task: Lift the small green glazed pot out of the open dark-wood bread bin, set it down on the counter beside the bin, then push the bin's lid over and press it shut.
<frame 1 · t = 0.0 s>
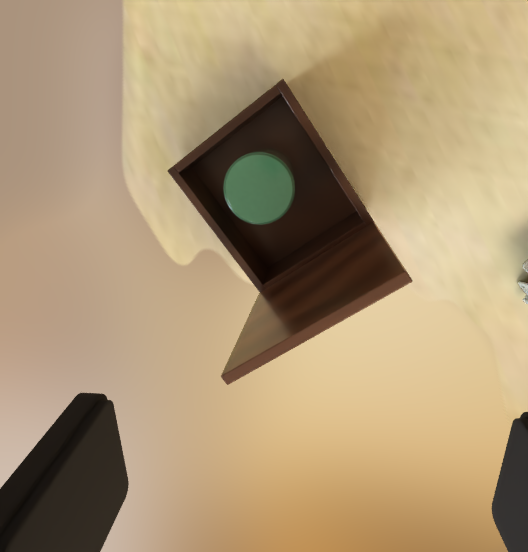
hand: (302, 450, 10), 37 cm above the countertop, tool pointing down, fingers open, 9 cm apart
bin lid: (313, 289, 33), point 14 cm above the countertop, hinge at 85.0°
bread bin: (275, 187, 44), on the countertop
pot: (266, 177, 43), point 1 cm above the countertop, touching bread bin
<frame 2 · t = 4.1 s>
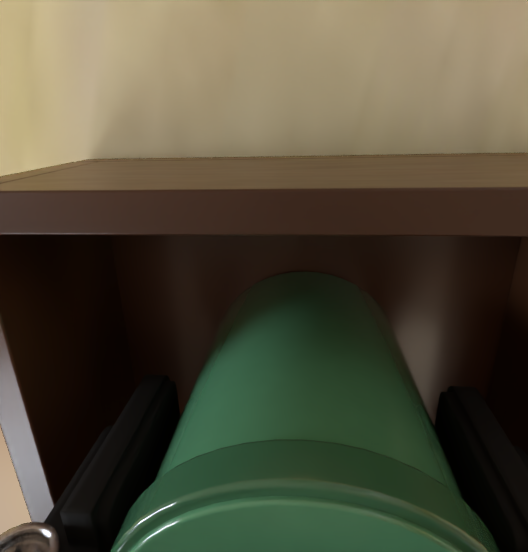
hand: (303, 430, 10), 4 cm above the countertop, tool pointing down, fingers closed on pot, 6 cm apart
bread bin: (303, 378, 15), on the countertop
pot: (304, 355, 13), point 1 cm above the countertop, touching bread bin, gripper
when the fingers open (3 cm above the countertop, at t = 11.6 s): pot stays where it is, on the countertop.
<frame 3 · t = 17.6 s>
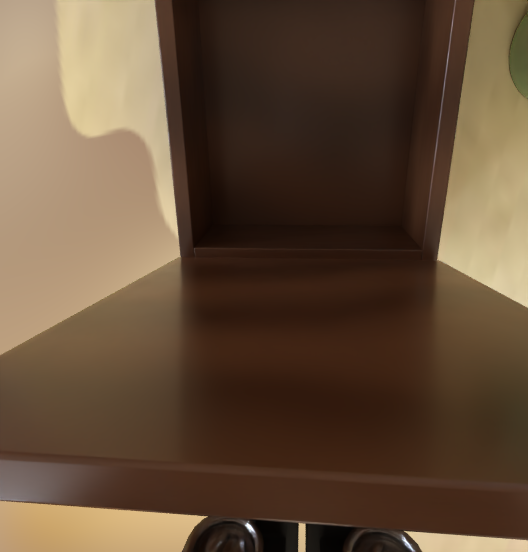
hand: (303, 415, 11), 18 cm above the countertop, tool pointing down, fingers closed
bin lid: (305, 312, 13), point 14 cm above the countertop, hinge at 80.6°, touching gripper
bread bin: (307, 107, 24), on the countertop
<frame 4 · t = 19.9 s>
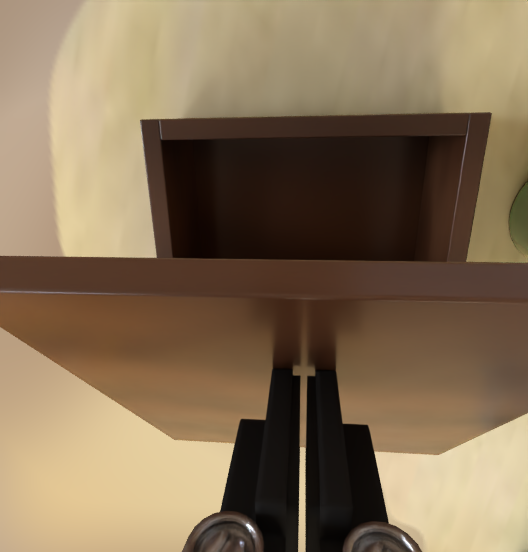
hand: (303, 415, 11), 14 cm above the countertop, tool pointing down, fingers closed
bin lid: (304, 398, 14), point 11 cm above the countertop, hinge at 37.4°, touching gripper
bread bin: (305, 257, 24), on the countertop
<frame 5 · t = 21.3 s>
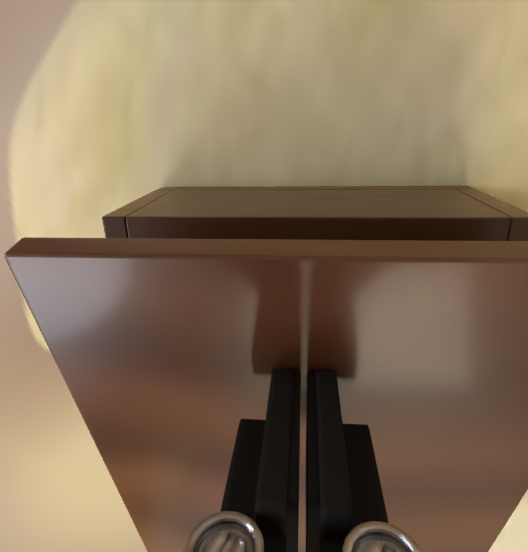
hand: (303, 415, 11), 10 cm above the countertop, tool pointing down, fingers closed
bin lid: (305, 462, 13), point 8 cm above the countertop, hinge at 13.3°, touching gripper
bread bin: (305, 339, 21), on the countertop
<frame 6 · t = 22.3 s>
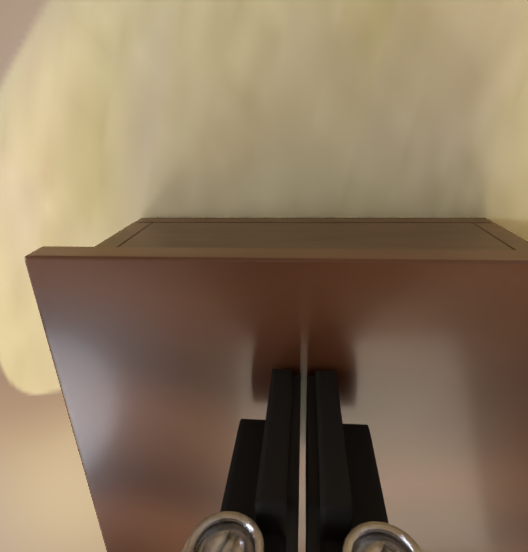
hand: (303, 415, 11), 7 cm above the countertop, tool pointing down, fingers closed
bin lid: (303, 498, 13), point 7 cm above the countertop, hinge at 2.1°, touching gripper
bread bin: (303, 381, 19), on the countertop
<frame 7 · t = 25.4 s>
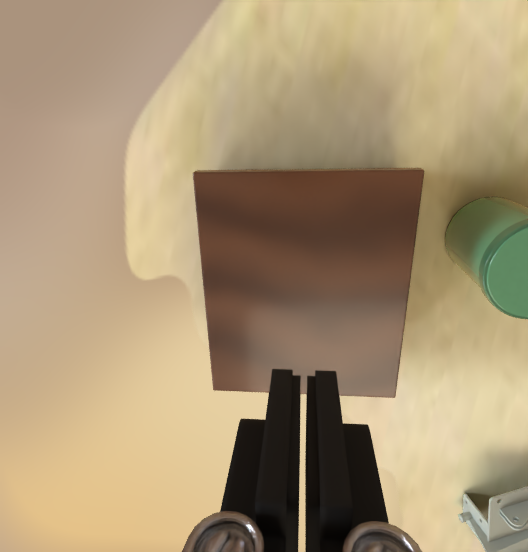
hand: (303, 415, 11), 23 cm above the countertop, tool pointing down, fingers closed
bin lid: (303, 293, 27), point 7 cm above the countertop, hinge at 1.9°
pot: (485, 235, 31), on the countertop
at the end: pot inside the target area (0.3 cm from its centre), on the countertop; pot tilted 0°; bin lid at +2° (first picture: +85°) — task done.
